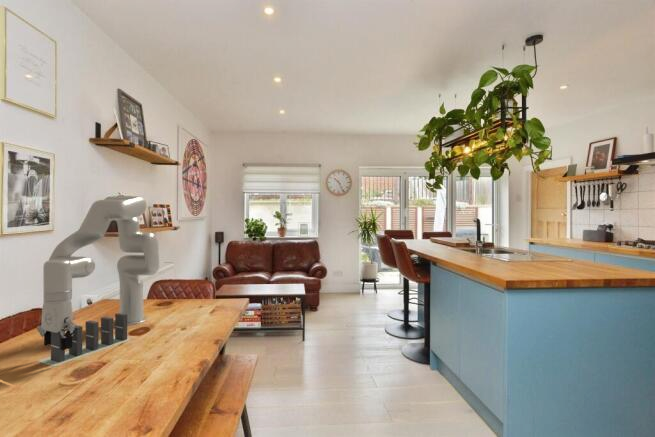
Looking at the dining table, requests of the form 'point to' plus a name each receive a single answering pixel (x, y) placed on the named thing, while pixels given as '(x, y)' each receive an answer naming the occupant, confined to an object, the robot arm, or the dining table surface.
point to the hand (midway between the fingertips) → (58, 346)
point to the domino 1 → (57, 348)
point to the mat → (84, 352)
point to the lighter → (40, 331)
